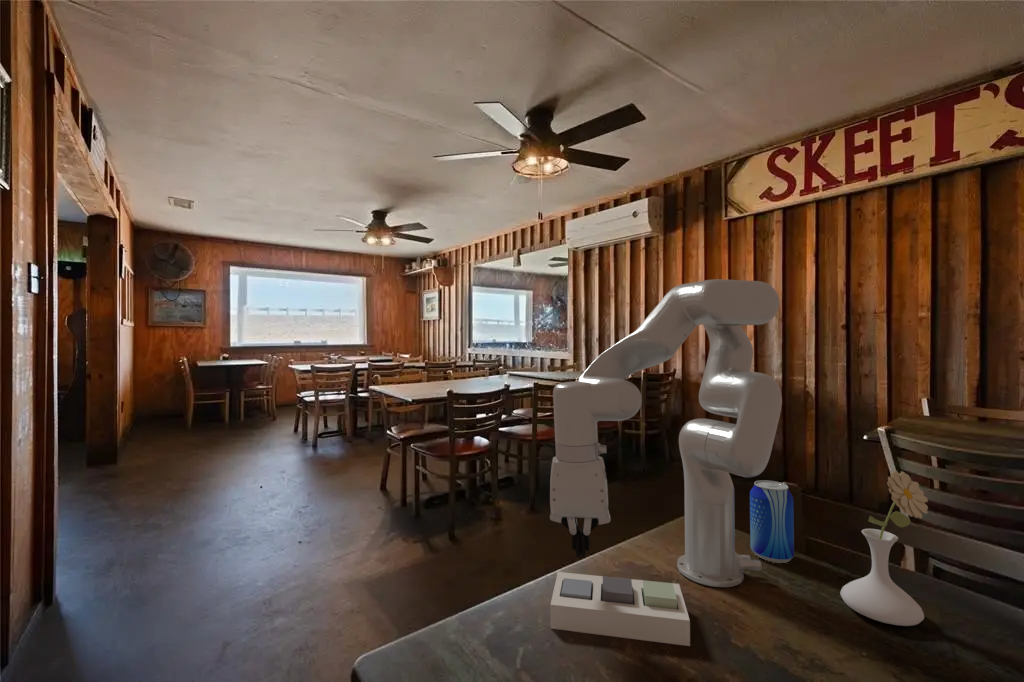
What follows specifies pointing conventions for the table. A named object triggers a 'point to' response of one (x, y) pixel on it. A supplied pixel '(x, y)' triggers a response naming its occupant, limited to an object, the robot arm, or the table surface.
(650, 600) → the sage key
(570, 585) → the slate key
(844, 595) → the flower in vase
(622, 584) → the charcoal key
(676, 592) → the keypad
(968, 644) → the table surface
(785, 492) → the beer can
